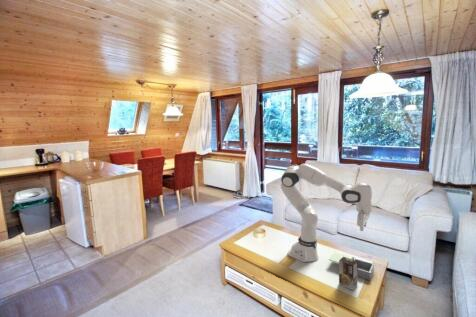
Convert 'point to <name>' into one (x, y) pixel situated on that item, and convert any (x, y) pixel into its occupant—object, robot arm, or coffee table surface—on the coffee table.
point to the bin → (365, 269)
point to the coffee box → (348, 273)
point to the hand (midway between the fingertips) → (363, 228)
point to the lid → (339, 257)
